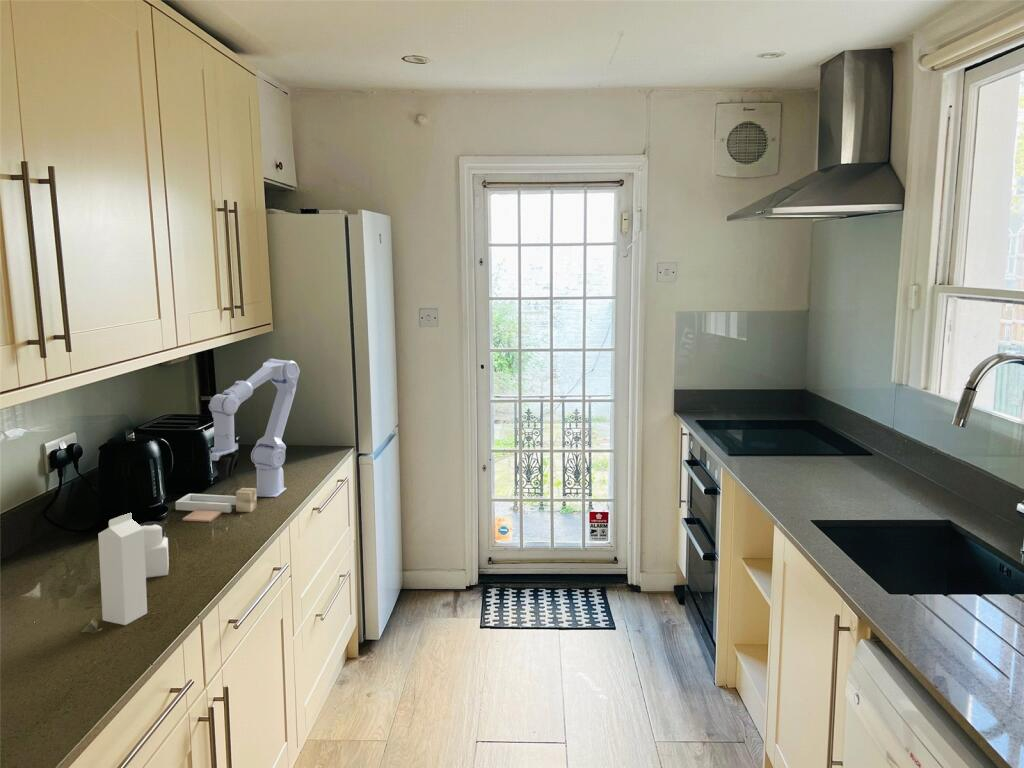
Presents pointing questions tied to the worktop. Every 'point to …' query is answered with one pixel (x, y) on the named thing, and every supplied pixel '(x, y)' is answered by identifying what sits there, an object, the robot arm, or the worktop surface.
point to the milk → (122, 570)
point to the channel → (206, 502)
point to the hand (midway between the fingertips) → (225, 477)
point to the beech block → (246, 499)
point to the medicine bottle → (155, 549)
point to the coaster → (202, 515)
